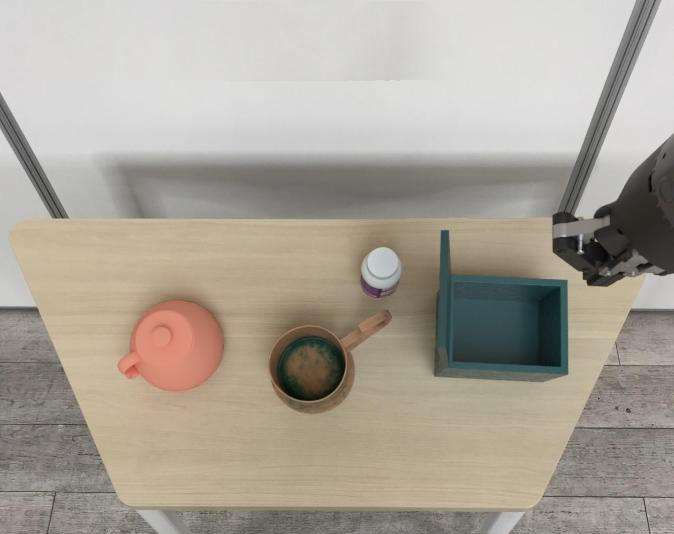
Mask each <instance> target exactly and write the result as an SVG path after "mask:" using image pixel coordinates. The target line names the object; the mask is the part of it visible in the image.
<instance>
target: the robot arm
mask: <svg viewBox="0 0 674 534" xmlns="http://www.w3.org/2000/svg"><path fill="white" fill-rule="evenodd" d="M551 217H552V218H551V219H552V220H551V222H552V223H551V225H552V226H551V231H552V232H551V240H552V253H553V254H554V255H555V256H557V257H558V258H560V259H561V260H562V261H563V262H564V263H566V264H568V265H569V266H570V267H572V268H573V269H574V270H576V271H577V272H579V273H582V281H586V285H587V287H599V288H600V287H602V288H603V287H604V288H608V287H610V286H611V285H613V284H615V283H617V282H619V281H621V280H623V279H624V278H627V277H628V278H636V277H639V276H642V275H643V274H653V275H654V276H659V277H665V276H669V275H673V274H674V132H673V133H672V134H671V135H670V136H669V137H668V138H667V139H665V141H663V143H662V144H660V145H659V147H657V148H656V149H655V150H654V151H652V153H651V154H649V156H648V157H647V158H645V159H644V161H642V163H640V165H638V166H637V167H636V168H635V169H634V171H633V172H632V173H631V174H630V176H629V177H628V178H627V180H626V182H625V184H624V186H623V187H622V189H621V192H620V193H619V195H618V197H617V198H616V200H614V201H612V202H610V203H607V204H603V205H602V206H600V207H598V209H596V211H594V213H593V217H592V218H587V219H585V217H583V216H577V217H576V216H575V215H574V214H573V213H571V212H569V211H558V212H555V213H554V214H552V215H551Z"/></svg>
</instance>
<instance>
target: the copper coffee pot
mask: <svg viewBox="0 0 674 534" xmlns="http://www.w3.org/2000/svg"><path fill="white" fill-rule="evenodd" d="M392 320H393V315H392V313H391V312H390V311H389V309H388V308H387V309H384V310H381V311H379V312H377V313H376V314H374V315H372V316H370V317H368V318H367V319H365V320H363V321H361V322H360V323H358V324H357V327H356V328H355V329H354V330H353V331H351V332H350V333H349V334H347V335H346V336H345V337H342V338H341V339H340V338H339V337H338V336H337V335H336V334H335V333H334V332H333V331H331V330H329V329H328V328H325V327H323V326H321V325H314V324H305V325H300V326H296V327H293V328H291V329H289V330H288V331H286V332H284V333H283V334H282V335H281V336H280V337H278V339H277V340H276V341H275V343H274V344H273V346H272V347H271V349H270V352H269V355H268V360H267V369H268V374H269V378H270V381H271V385H272V388H273V390H274V392H275V394H276V396H277V397H278V399H279V400H280V401H281V402H282V403H283V404H285V405H286V406H287V407H288V408H290V409H292V410H294V411H296V412H297V413H302V414H308V415H317V414H323V413H326V412H329V411H332V410H333V409H335V408H336V407H338V406H339V405H340V404H342V403H343V402H344V400H345V399H346V398H347V397H348V395H349V393H350V392H351V390H352V387H353V385H354V381H355V375H356V373H355V370H356V369H355V362H354V358H353V355H352V354H351V351H353V350H354V349H355V348H357V347H358V346H359V345H361V344H362V343H364V342H365V341H367V340H368V339H369V338H371V337H372V336H374V335H375V334H377V333H379V332H380V331H381V330H383V329H384V328H386V327H387V326H388V325H389V324H390V322H391V321H392Z"/></svg>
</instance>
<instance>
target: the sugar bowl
mask: <svg viewBox="0 0 674 534" xmlns="http://www.w3.org/2000/svg"><path fill="white" fill-rule="evenodd" d="M223 353H224V336H223V333H222V330H221V327H220V325H219V323H218V321H217V320H216V319H215V317H214V316H213V315H212V314H211V312H209V311H208V310H206V309H205V308H204V307H202V306H200V305H198V304H196V303H194V302H191V301H186V300H169V301H165V302H160V303H158V304H156V305H154V306H152V307H150V308H149V309H148V310H146V311H145V312H144V313H143V314H142V315H141V316H140V317H139V318H138V320H137V321H136V323H135V324H134V326H133V329H132V331H131V334H130V339H129V353H128V354H126V355H125V356H123V357H122V358H120V360H119V361H118V362H117V365H116V367H117V369H118V371H119V372H120V373H121V374H122V375H124V377H125V378H127V379H128V380H133V379H135V378H138V377H139V376H140V377H142V378H143V379H144V380H145V381H146V382H147V383H149V384H150V385H151V386H153V387H155V388H157V389H160V390H163V391H166V392H174V393H175V392H176V393H177V392H178V393H179V392H185V391H190V390H193V389H195V388H197V387H199V386H200V385H202V384H204V383H205V382H206V381H208V379H210V378H211V377H212V376H213V375H214V373H215V372H216V371H217V369H218V367H219V366H220V364H221V360H222V358H223Z"/></svg>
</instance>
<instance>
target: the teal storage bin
mask: <svg viewBox="0 0 674 534" xmlns="http://www.w3.org/2000/svg"><path fill="white" fill-rule="evenodd" d="M568 281H569V280H568V279H559V278H540V277H539V278H536V277H535V278H534V277H514V276H513V277H512V276H493V275H472V274H453V273H451V309H450V351H449V368H442V363H441V359H440V355H439V351H438V315H439V289H438V290H437V292H436V298H435V299H436V301H435V333H434V334H435V338H434V339H435V340H434V370H433V371H434V372H433V373H434V374H433V375H434V378H451V379H452V378H453V379H468V380H469V379H470V380H487V381H488V380H489V381H490V380H491V381H507V382H508V381H510V382H528V383H546V382H549V381H552V380H556V379H559V378H562V377H565V376H568V375H569V302H568V301H569V296H568V295H569V289H568V287H569V286H568V285H569V282H568Z"/></svg>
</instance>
